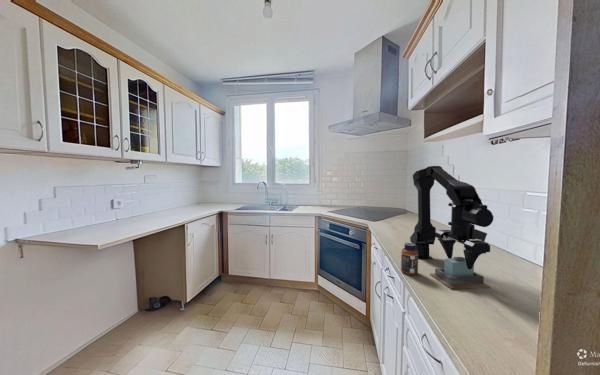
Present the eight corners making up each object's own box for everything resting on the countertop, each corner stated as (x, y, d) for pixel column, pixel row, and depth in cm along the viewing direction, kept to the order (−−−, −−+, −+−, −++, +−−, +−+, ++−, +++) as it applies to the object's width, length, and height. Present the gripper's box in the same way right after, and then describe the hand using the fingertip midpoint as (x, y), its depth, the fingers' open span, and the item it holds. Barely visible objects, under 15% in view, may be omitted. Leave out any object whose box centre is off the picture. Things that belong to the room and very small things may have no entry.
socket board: (430, 275, 89) (430, 267, 89) (464, 273, 90) (464, 265, 90) (450, 289, 78) (451, 280, 78) (489, 287, 79) (490, 278, 79)
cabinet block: (443, 277, 86) (444, 255, 85) (464, 276, 86) (465, 255, 86) (451, 282, 82) (452, 260, 81) (473, 281, 82) (474, 259, 82)
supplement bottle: (417, 277, 87) (417, 247, 87) (399, 273, 90) (400, 244, 90) (418, 271, 92) (419, 243, 92) (402, 268, 96) (402, 241, 95)
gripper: (507, 225, 74) (505, 274, 75) (462, 215, 92) (460, 253, 93) (474, 226, 73) (472, 275, 74) (435, 215, 92) (434, 254, 93)
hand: (459, 263), depth 84 cm, fingers open, 9 cm apart
